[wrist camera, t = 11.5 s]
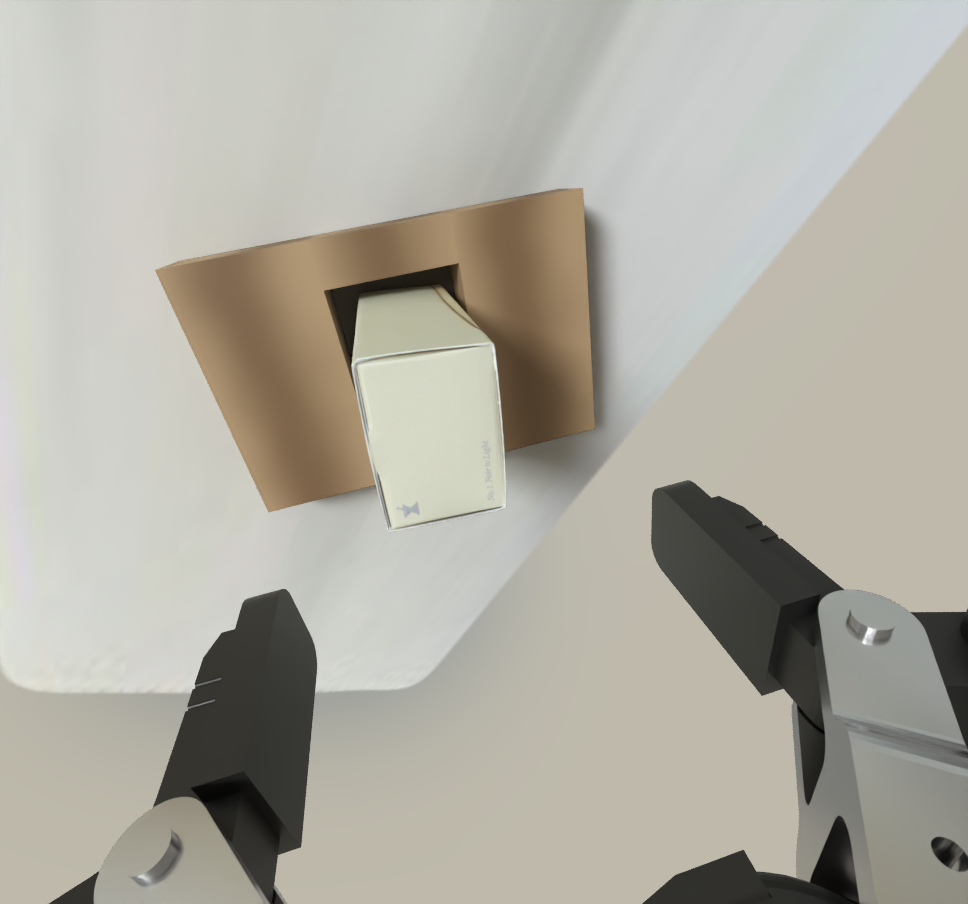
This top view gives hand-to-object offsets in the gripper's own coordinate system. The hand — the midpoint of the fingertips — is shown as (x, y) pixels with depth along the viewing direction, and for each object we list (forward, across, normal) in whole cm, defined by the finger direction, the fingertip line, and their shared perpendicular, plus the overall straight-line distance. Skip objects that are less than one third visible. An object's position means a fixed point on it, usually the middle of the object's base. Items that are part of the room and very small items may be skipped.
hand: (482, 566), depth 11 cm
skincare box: (+18, 0, 0) cm, 18 cm away
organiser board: (+18, 0, 0) cm, 18 cm away
